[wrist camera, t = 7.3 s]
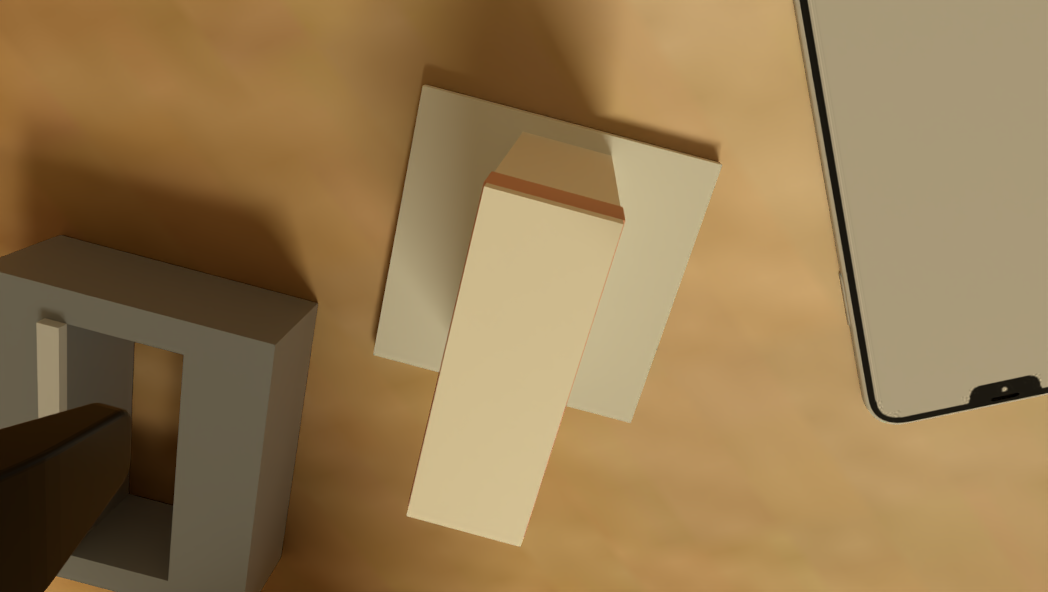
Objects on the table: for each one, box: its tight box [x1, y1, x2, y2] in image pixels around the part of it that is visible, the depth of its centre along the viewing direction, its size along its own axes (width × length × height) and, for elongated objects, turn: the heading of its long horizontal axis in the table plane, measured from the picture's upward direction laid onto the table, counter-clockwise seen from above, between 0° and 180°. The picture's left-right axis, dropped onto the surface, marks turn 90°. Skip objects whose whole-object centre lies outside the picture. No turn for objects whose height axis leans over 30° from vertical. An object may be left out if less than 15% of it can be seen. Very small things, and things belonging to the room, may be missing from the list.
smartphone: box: [793, 0, 1048, 424], centre depth 18 cm, size 7×1×15 cm
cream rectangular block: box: [407, 132, 626, 547], centre depth 16 cm, size 7×2×7 cm, turn 166°
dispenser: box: [0, 235, 318, 592], centre depth 21 cm, size 10×8×3 cm
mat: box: [373, 85, 722, 423], centre depth 19 cm, size 8×8×1 cm
